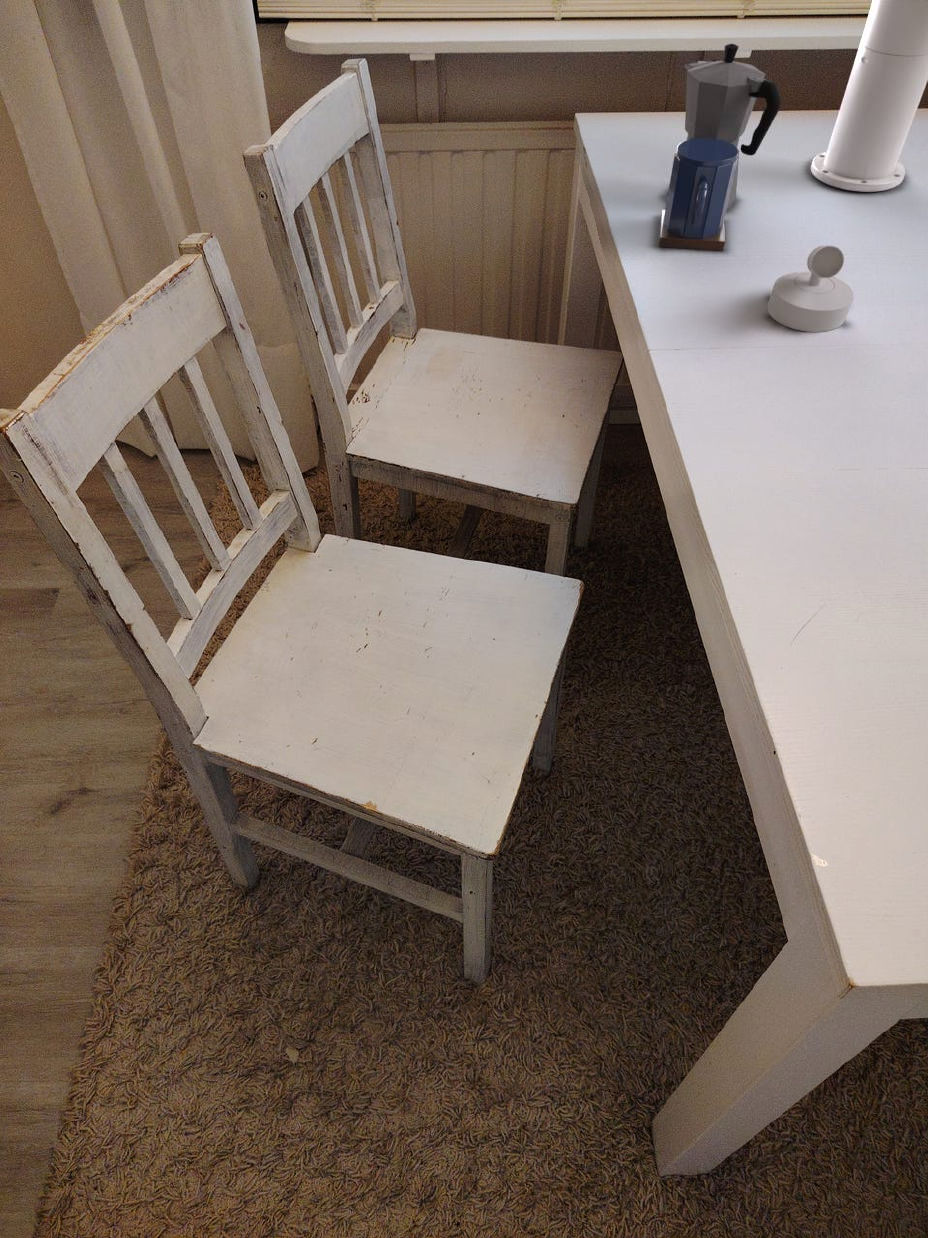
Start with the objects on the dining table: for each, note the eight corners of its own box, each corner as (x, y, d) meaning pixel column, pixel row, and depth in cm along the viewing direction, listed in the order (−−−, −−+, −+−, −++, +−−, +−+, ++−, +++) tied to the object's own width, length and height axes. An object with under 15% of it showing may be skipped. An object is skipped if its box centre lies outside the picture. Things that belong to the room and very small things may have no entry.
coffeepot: (642, 192, 111) (665, 38, 98) (689, 174, 115) (718, 23, 101) (725, 232, 103) (763, 70, 89) (773, 211, 107) (817, 53, 93)
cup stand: (660, 218, 106) (673, 145, 99) (722, 222, 105) (738, 148, 98) (658, 246, 101) (671, 171, 94) (723, 250, 100) (740, 175, 93)
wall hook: (787, 245, 81) (795, 204, 87) (762, 331, 88) (771, 287, 94) (877, 257, 79) (878, 214, 85) (843, 343, 86) (847, 298, 92)
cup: (663, 211, 105) (676, 136, 98) (721, 214, 104) (738, 139, 97) (661, 243, 99) (674, 166, 92) (722, 247, 98) (740, 169, 91)
